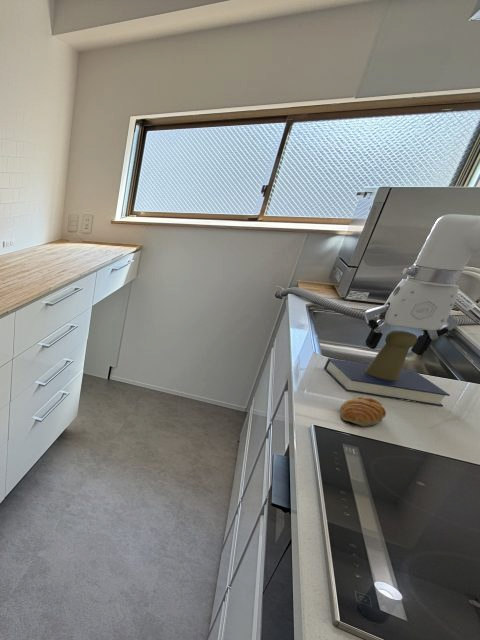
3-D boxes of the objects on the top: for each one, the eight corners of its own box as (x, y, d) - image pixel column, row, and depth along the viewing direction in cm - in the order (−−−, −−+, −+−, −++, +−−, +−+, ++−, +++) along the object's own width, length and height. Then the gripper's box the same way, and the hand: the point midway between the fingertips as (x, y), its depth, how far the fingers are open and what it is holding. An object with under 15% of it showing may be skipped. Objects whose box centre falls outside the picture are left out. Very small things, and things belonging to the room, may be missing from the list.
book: (407, 381, 105) (413, 370, 103) (442, 406, 93) (450, 394, 91) (323, 368, 110) (328, 358, 109) (346, 390, 98) (352, 379, 97)
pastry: (372, 433, 81) (381, 416, 79) (330, 418, 86) (338, 402, 84) (383, 419, 86) (392, 403, 84) (343, 406, 91) (351, 390, 89)
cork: (359, 371, 101) (381, 328, 96) (374, 368, 103) (396, 326, 98) (388, 381, 96) (413, 337, 91) (403, 378, 98) (428, 335, 93)
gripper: (392, 274, 89) (355, 349, 97) (498, 284, 84) (449, 362, 92) (375, 268, 95) (341, 339, 103) (473, 277, 90) (429, 350, 98)
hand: (392, 349), depth 97 cm, fingers open, 8 cm apart
